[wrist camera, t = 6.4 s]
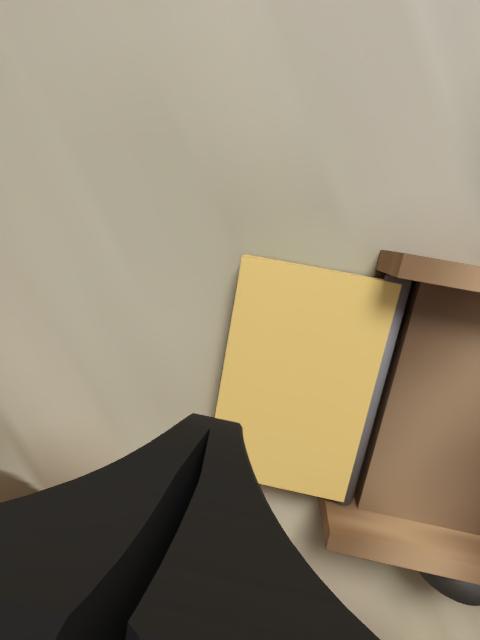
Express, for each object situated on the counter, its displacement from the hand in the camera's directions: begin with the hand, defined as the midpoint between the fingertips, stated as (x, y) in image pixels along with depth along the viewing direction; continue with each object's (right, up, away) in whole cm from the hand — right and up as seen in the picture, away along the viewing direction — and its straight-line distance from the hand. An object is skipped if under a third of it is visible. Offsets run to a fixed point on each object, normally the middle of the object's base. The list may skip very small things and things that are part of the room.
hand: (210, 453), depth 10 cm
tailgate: (+6, 0, +6) cm, 9 cm away
